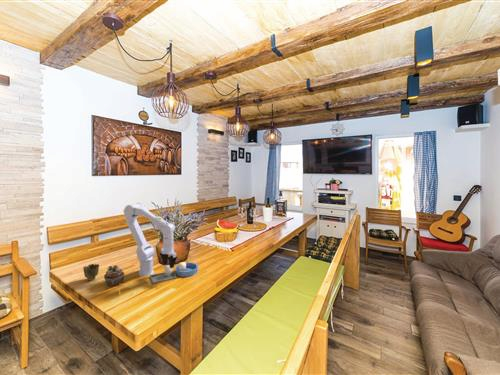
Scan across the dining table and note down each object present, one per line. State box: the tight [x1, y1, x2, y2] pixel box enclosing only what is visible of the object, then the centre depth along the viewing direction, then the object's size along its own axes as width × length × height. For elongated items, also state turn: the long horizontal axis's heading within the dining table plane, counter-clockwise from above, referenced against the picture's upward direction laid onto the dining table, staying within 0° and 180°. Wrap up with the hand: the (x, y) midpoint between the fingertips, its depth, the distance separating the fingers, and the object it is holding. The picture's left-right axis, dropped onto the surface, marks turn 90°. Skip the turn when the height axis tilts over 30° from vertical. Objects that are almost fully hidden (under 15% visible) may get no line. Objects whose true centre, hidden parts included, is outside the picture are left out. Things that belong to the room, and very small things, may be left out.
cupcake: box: [103, 265, 125, 288], centre depth 124 cm, size 10×10×10 cm
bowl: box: [174, 261, 199, 278], centre depth 140 cm, size 14×14×4 cm
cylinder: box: [164, 264, 173, 277], centre depth 134 cm, size 4×4×6 cm
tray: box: [149, 270, 178, 285], centre depth 131 cm, size 10×13×1 cm
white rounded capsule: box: [178, 261, 187, 271], centre depth 138 cm, size 4×4×6 cm
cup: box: [82, 263, 100, 281], centre depth 127 cm, size 8×7×8 cm
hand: (168, 265), depth 134 cm, fingers open, 7 cm apart
